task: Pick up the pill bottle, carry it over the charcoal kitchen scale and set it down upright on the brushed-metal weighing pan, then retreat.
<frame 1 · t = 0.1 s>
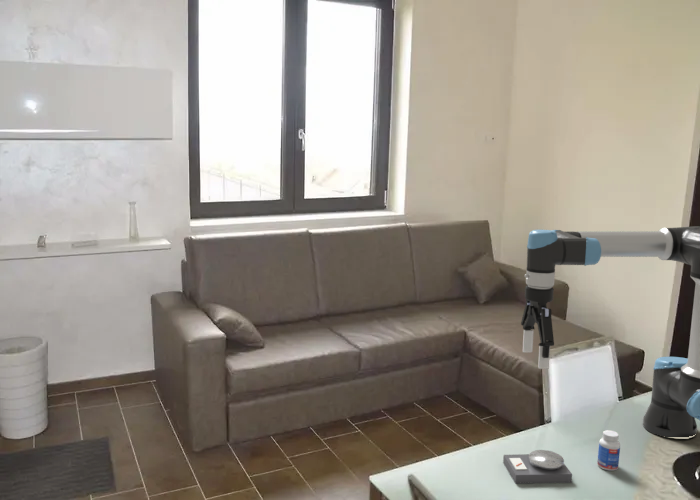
hand: (535, 359, 178), 28 cm above the table, fingers open, 13 cm apart
pill bottle: (607, 467, 175), on the table
scale base: (536, 472, 172), on the table
pan: (546, 459, 171), point 4 cm above the table, slide at -0.8 cm
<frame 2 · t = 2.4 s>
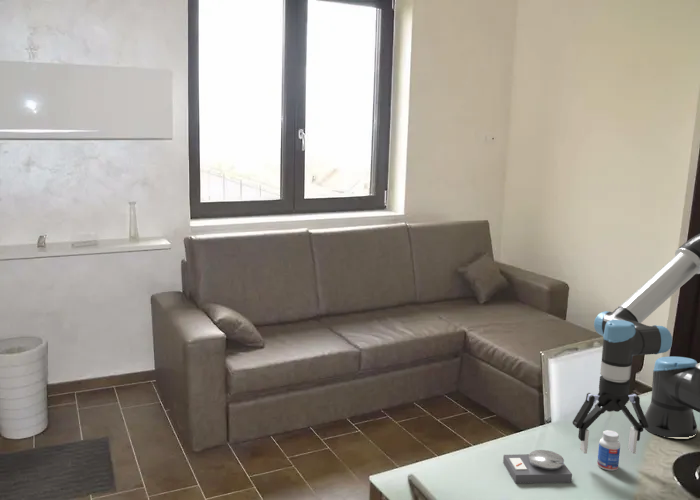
hand: (607, 451, 175), 4 cm above the table, fingers open, 13 cm apart
nothing on the table moved.
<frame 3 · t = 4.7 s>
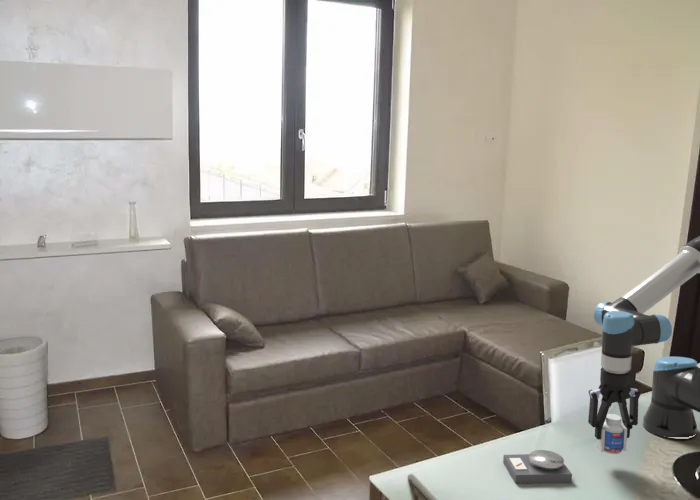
hand: (611, 448, 175), 5 cm above the table, fingers closed on pill bottle, 5 cm apart
pill bottle: (611, 450, 175), point 4 cm above the table, touching gripper
everything else where it was.
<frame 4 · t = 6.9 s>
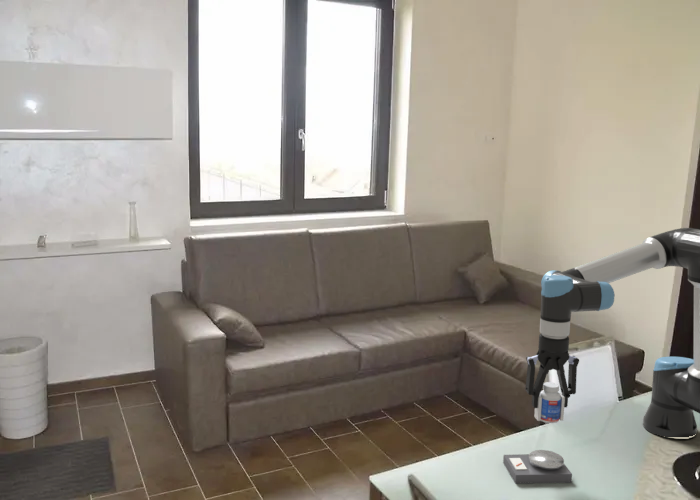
hand: (548, 418, 169), 15 cm above the table, fingers closed on pill bottle, 5 cm apart
pill bottle: (548, 420, 169), point 15 cm above the table, touching gripper
everything else where it was.
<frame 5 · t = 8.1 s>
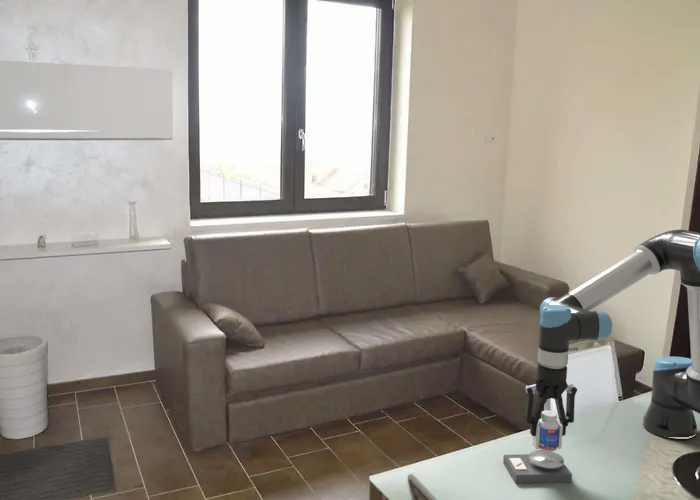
hand: (546, 446, 171), 7 cm above the table, fingers closed on pill bottle, 5 cm apart
pill bottle: (546, 448, 171), point 7 cm above the table, touching gripper
everything else where it was.
when the fingers open (6 cm above the table, at t = 9.2 s): pill bottle drops 1 cm, resting on pan.
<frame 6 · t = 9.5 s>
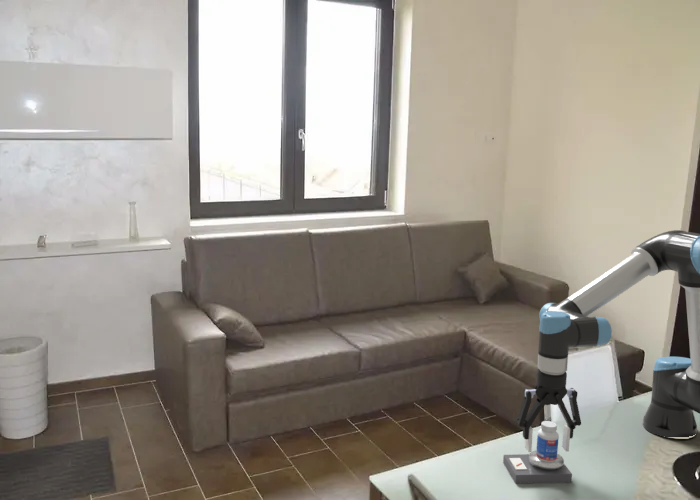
hand: (546, 449, 171), 7 cm above the table, fingers open, 9 cm apart
pill bottle: (546, 458, 171), point 4 cm above the table, touching pan
pan: (546, 459, 171), point 4 cm above the table, slide at -0.9 cm, touching pill bottle
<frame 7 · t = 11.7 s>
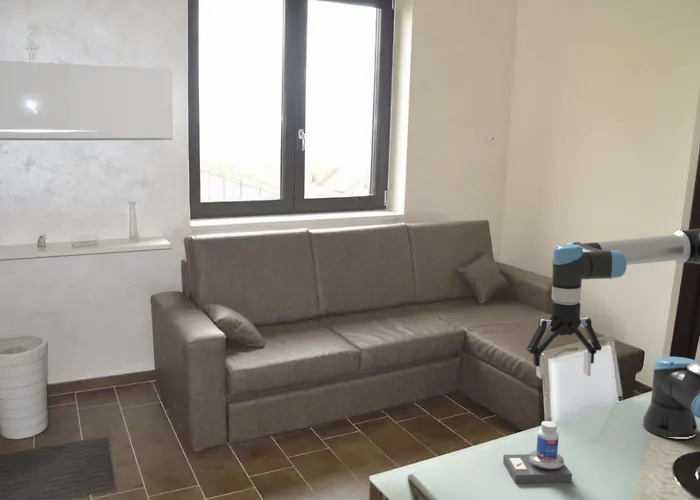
hand: (563, 375, 176), 24 cm above the table, fingers open, 13 cm apart
nothing on the table moved.
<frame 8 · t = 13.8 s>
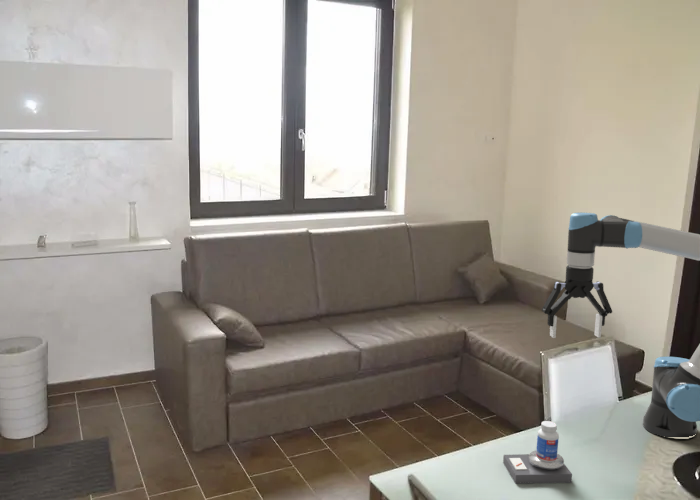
hand: (575, 336, 188), 32 cm above the table, fingers open, 13 cm apart
nothing on the table moved.
at the end: pill bottle inside the target area on the pan (0.1 cm from its centre), point 4.8 cm above the pan's base; pill bottle tilted 0°; the gripper is holding nothing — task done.
